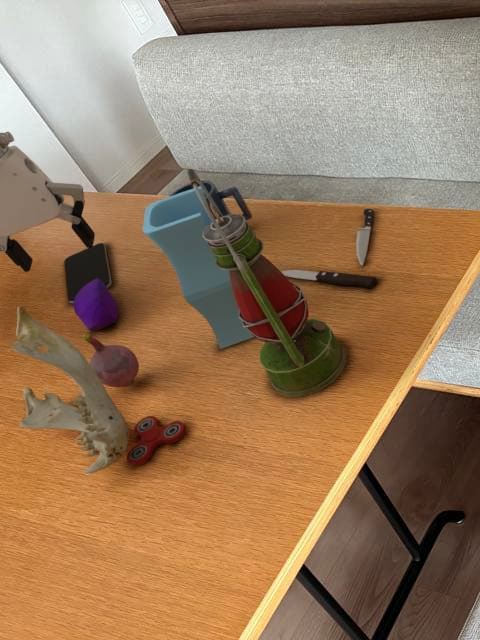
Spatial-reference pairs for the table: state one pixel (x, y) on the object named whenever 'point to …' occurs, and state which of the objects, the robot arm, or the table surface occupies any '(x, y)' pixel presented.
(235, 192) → the mug
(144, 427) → the fidget spinner
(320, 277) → the kitchen knife
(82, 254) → the smartphone
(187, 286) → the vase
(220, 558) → the table surface
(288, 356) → the lantern
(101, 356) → the vegetable
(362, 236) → the knife
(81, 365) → the jawbone
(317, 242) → the table surface
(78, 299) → the purple eggplant
